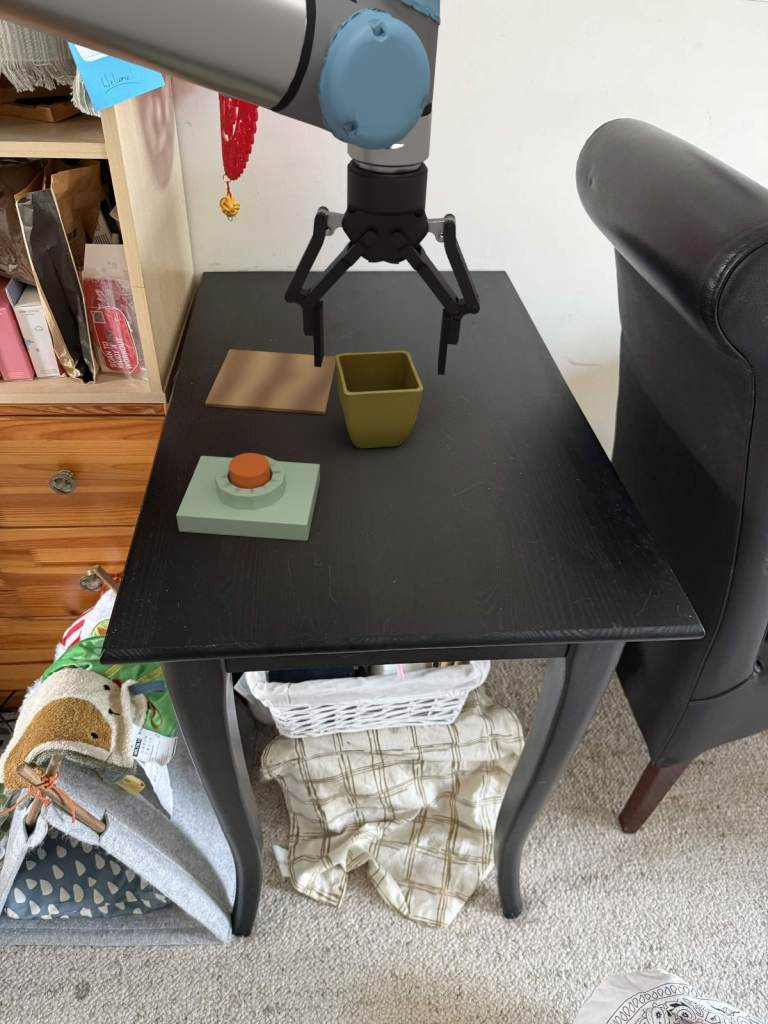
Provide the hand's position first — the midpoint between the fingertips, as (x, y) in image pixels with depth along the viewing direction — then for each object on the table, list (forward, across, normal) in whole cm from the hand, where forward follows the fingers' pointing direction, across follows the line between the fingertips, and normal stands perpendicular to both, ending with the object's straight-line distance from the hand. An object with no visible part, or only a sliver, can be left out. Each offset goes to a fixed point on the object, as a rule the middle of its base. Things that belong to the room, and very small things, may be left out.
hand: (380, 365), depth 81 cm
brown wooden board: (+10, -14, +11) cm, 20 cm away
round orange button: (+6, -12, -14) cm, 20 cm away
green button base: (+10, -12, -14) cm, 21 cm away
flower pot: (+10, 0, 0) cm, 10 cm away
